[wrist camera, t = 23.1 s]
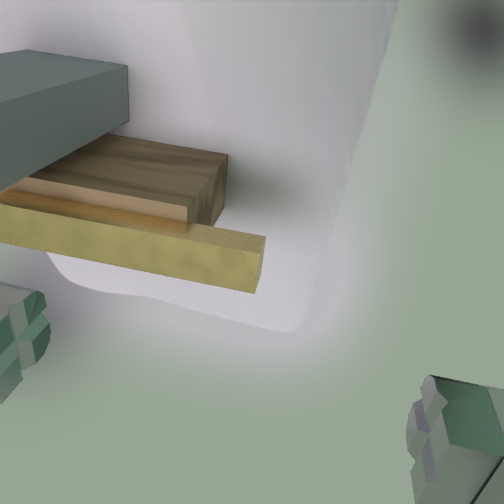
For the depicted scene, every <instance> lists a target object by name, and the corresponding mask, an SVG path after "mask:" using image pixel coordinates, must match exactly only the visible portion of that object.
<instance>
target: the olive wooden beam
mask: <svg viewBox="0 0 504 504" xmlns="http://www.w3.org/2000/svg"><path fill="white" fill-rule="evenodd" d="M265 240H266V237H265V236H260V235H255V234H249V233H244V232H239V231H233V230H228V229H223V228H217V227H212V226H207V225H201V224H196V223H191V222H185V221H180V220H175V219H169V218H164V217H158V216H153V215H148V214H142V213H137V212H132V211H126V210H121V209H116V208H110V207H105V206H100V205H94V204H89V203H84V202H78V201H73V200H68V199H62V198H57V197H52V196H46V195H41V194H36V193H30V192H25V191H20V190H14V189H9V190H7V191H6V192H4V193H2V194H0V242H1V243H6V244H11V245H16V246H21V247H26V248H31V249H36V250H41V251H45V252H50V253H55V254H60V255H65V256H70V257H75V258H80V259H85V260H90V261H95V262H100V263H105V264H110V265H115V266H120V267H125V268H130V269H134V270H139V271H144V272H149V273H154V274H159V275H164V276H169V277H174V278H179V279H184V280H189V281H194V282H199V283H204V284H209V285H214V286H219V287H223V288H228V289H233V290H238V291H243V292H248V293H253V294H255V291H256V288H257V285H258V281H259V278H260V275H261V268H262V261H263V254H264V247H265Z"/></svg>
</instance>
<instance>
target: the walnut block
mask: <svg viewBox="0 0 504 504" xmlns="http://www.w3.org/2000/svg"><path fill="white" fill-rule="evenodd" d="M227 162H228V155H227V154H221V153H215V152H210V151H204V150H198V149H192V148H186V147H181V146H175V145H169V144H163V143H157V142H152V141H146V140H140V139H134V138H128V137H123V136H117V135H111V134H104V135H102V136H100V137H99V138H97V139H95V140H93V141H91V142H89V143H88V144H86V145H84V146H82V147H80V148H78V149H77V150H75V151H73V152H71V153H69V154H68V155H66V156H64V157H62V158H60V159H58V160H57V161H55V162H53V163H51V164H49V165H47V166H46V167H44V168H42V169H40V170H38V171H36V172H35V173H33V174H31V175H29V176H27V177H25V178H24V179H22V180H20V181H18V182H16V183H14V184H13V185H11V186H9V187H7V188H5V189H4V190H2V191H0V194H2V193H4V192H6V191H7V190H9V189H14V190H20V191H25V192H30V193H36V194H41V195H46V196H52V197H57V198H62V199H68V200H73V201H78V202H84V203H89V204H94V205H100V206H105V207H110V208H116V209H121V210H126V211H132V212H137V213H142V214H148V215H153V216H158V217H164V218H169V219H175V220H180V221H185V222H191V223H196V224H201V225H207V226H212V227H213V226H214V224H215V223H216V221H217V219H218V217H219V216H220V214H221V212H222V211H223V208H224V197H225V185H226V173H227Z"/></svg>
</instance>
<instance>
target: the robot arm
mask: <svg viewBox="0 0 504 504" xmlns="http://www.w3.org/2000/svg"><path fill="white" fill-rule="evenodd" d="M46 306H47V305H46V301H45V296H44V294H43V293H41V292H39V291H37V290H33V289H29V288H25V287H21V286H16V285H12V284H8V283H4V282H0V403H3V402H4V401H5V399H6V398H7V397H8V396H9V395H10V394H11V392H12V391H13V390H14V389H15V388H16V387H17V386H18V384H19V383H20V382H21V381H22V380H23V370H24V369H26V368H28V367H30V366H32V365H35V364H36V363H37V362H38V361H39V360H40V359H41V357H42V356H43V355H44V353H45V351H46V349H47V346H48V344H49V342H50V334H51V329H50V323H49V321H48V320H47V319H46V318H45V317H44V315H43V314H42V312H43V311H44V309H45V308H46ZM420 389H421V394H422V399H420V400H419V401H417V402H415V403H413V405H412V408H411V411H410V413H409V417H408V422H407V428H406V433H407V434H406V435H407V436H406V437H407V448H408V452H409V453H410V454H411V455H412V457H413V458H414V459H415V461H416V462H415V464H414V466H413V468H412V470H411V477H412V484H413V492H414V499H415V504H504V389H499V388H495V387H489V386H484V385H482V386H481V385H478V384H473V383H468V382H463V381H458V380H453V379H449V378H444V377H439V376H434V375H428V376H427V377H426V378H425V379H424V381H423V383H422V385H421V387H420Z"/></svg>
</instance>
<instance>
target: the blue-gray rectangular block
mask: <svg viewBox="0 0 504 504" xmlns="http://www.w3.org/2000/svg"><path fill="white" fill-rule="evenodd" d="M128 121H129V100H128V71H127V65H122V64H115V63H109V62H102V61H96V60H89V59H83V58H76V57H70V56H63V55H57V54H50V53H44V52H37V51H31V50H21V51H14V52H7V53H1V54H0V191H2V190H4V189H5V188H7V187H9V186H11V185H13V184H14V183H16V182H18V181H20V180H22V179H24V178H25V177H27V176H29V175H31V174H33V173H35V172H36V171H38V170H40V169H42V168H44V167H46V166H47V165H49V164H51V163H53V162H55V161H57V160H58V159H60V158H62V157H64V156H66V155H68V154H69V153H71V152H73V151H75V150H77V149H78V148H80V147H82V146H84V145H86V144H88V143H89V142H91V141H93V140H95V139H97V138H99V137H100V136H102V135H104V134H106V133H108V132H110V131H111V130H113V129H115V128H117V127H119V126H121V125H122V124H124V123H126V122H128Z"/></svg>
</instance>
